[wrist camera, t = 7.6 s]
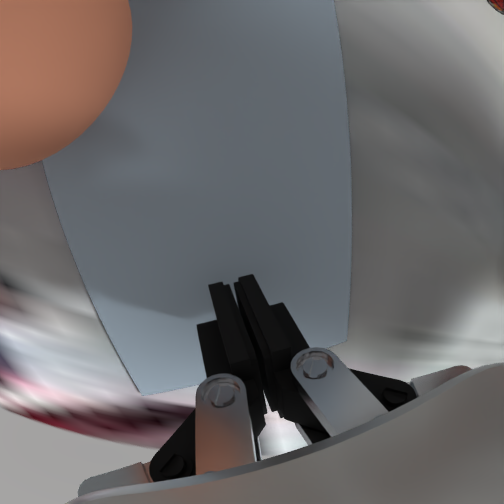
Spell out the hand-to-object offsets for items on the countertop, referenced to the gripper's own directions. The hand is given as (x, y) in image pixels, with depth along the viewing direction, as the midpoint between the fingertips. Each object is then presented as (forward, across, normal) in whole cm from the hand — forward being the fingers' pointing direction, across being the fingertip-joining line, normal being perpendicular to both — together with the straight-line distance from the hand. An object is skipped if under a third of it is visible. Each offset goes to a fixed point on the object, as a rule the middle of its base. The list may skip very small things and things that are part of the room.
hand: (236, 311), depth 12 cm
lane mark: (+2, 0, -8) cm, 8 cm away
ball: (-2, +4, -10) cm, 11 cm away
